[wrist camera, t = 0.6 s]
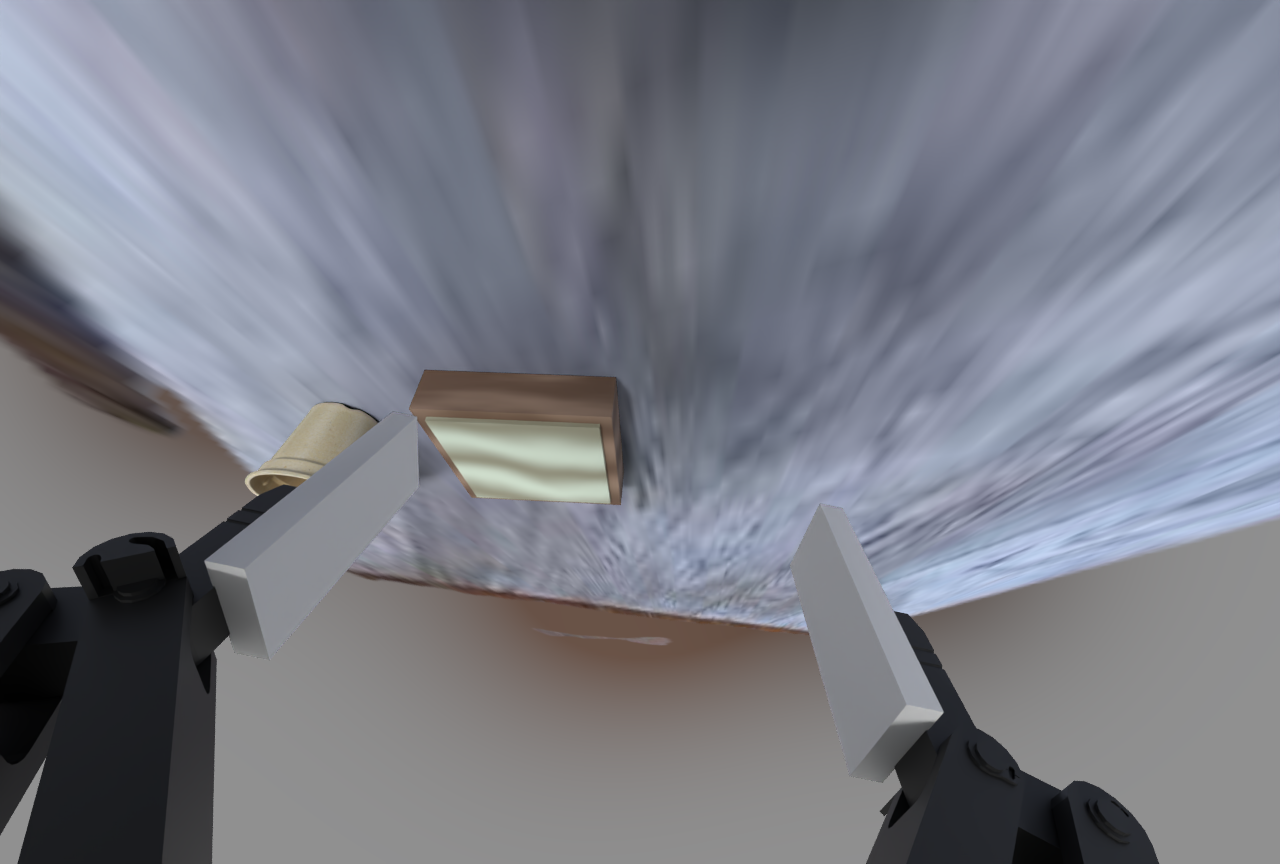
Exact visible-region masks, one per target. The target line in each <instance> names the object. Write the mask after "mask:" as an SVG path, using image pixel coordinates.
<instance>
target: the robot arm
mask: <svg viewBox="0 0 1280 864" xmlns="http://www.w3.org/2000/svg"><path fill="white" fill-rule="evenodd" d="M418 488H419V464H418V429H417V416H412V415H407V414H403V413H398V412H394V411H393V412H392V413H390V414H389V415H388V416H387V417H385V418H384V419H383V420H382V421H380V422H379V423H378V424H377V425H375V426H374V427H373V428H371V429H370V430H369V431H368V432H366V433H365V434H364V435H363V436H361V437H360V438H359V439H358V440H356V441H355V442H354V443H352V444H351V445H350V446H349V447H347V448H346V449H345V450H344V451H342V452H341V453H340V454H339V455H337V456H336V457H335V458H334V459H332V460H331V461H330V462H328V463H327V464H326V465H325V466H323V467H322V468H321V469H320V470H318V471H317V472H316V473H315V474H313V475H312V476H311V477H309V478H308V479H307V480H306V481H304V482H303V483H302V484H301V485H299V486H298V487H295V486H290V485H285V484H283V485H281V486H279V487H276V488H274V489H271V490H269V491H267V492H264V493H262V494H260V495H258V496H257V497H256V498H254V499H253V500H252V501H250V502H249V503H248V504H246V505H245V506H244V507H242V510H241V511H240V510H238V511H237V512H236V513H234V514H233V515H231V516H230V517H229V518H227V521H226V522H222V523H221V524H219V525H218V526H217V527H215V528H214V529H212V530H211V531H210V532H209V533H207V534H206V535H205V536H203V537H202V538H200V539H199V540H198V541H196V542H195V543H194V544H192V545H191V546H189V547H188V548H187V549H185V550H184V551H183V552H182V553H180V554H179V553H178V551H177V548H176V545H175V542H174V539H173V538H171V537H169V536H167V535H165V534H163V533H154V532H144V533H134V534H128V535H125V536H121V537H118V538H114V539H111V540H108V541H106V542H104V543H102V544H100V545H97V546H95V547H93V548H92V549H90V550H89V551H88V552H86V553H85V554H83V555H82V556H81V557H79V559H78V560H77V562H76V563H75V565H74V566H73V567H72V568H73V570H74V572H75V574H76V576H77V578H78V579H79V581H80V583H81V585H82V587H64V588H50V586H49V584H48V583H47V581H46V579H45V577H44V576H43V574H42V573H40V572H37V571H34V570H31V569H12V570H6V571H0V835H1V833H2V831H3V829H4V828H5V826H6V824H7V823H8V821H9V819H10V818H11V816H12V814H13V813H14V811H15V809H16V807H17V806H18V804H19V802H20V801H21V799H22V797H23V795H24V794H25V792H26V790H27V789H28V787H29V785H30V784H31V782H32V780H33V778H34V777H35V775H36V773H37V772H38V770H39V768H40V766H41V765H42V763H43V761H44V760H45V758H46V761H45V764H44V768H43V772H42V775H41V779H40V783H39V786H38V791H37V794H36V798H35V801H34V805H33V808H32V812H31V816H30V820H29V823H28V827H27V831H26V834H25V838H24V842H23V846H22V849H21V853H20V857H19V860H18V864H212V836H213V835H212V833H213V793H214V748H215V706H216V665H217V659H216V657H215V653H214V650H215V649H216V648H217V647H218V646H219V645H220V644H221V643H222V642H223V640H225V639H226V638H227V637H228V636H229V638H230V641H231V644H232V647H233V650H234V653H237V654H243V655H247V656H252V657H257V658H263V659H268V660H270V659H271V658H272V657H273V655H274V654H275V653H276V652H277V651H278V650H279V648H280V647H281V646H282V645H283V644H284V643H285V641H286V640H287V639H288V638H289V637H290V635H292V633H293V632H294V631H295V630H296V629H297V627H298V626H299V625H300V624H301V623H302V622H303V621H304V620H305V618H306V617H307V616H308V615H309V614H310V613H311V611H312V610H313V609H314V608H315V607H316V606H317V604H318V603H319V602H320V601H321V600H322V598H324V596H325V595H326V594H327V593H328V592H329V591H330V589H331V588H332V587H333V586H334V585H335V584H336V582H337V581H338V580H339V579H340V578H341V577H342V576H343V574H344V573H345V572H346V571H347V570H348V569H349V567H350V566H351V565H352V564H353V563H354V562H355V561H356V559H357V558H358V557H359V556H360V555H361V554H362V552H363V551H364V550H365V549H366V548H367V547H368V545H369V544H370V543H371V542H372V541H373V540H374V539H375V537H376V536H377V535H378V534H379V533H380V532H381V530H382V529H383V528H384V527H385V526H386V525H387V523H388V522H389V521H390V520H391V519H392V518H393V517H394V515H395V514H396V513H397V512H398V511H399V510H400V508H401V507H402V506H403V505H404V504H405V503H406V502H407V500H408V499H409V498H410V497H411V496H412V495H413V493H414V492H415V491H416V490H417V489H418ZM790 567H791V571H792V574H793V578H794V581H795V585H796V589H797V592H798V596H799V599H800V603H801V606H802V610H803V613H804V617H805V620H806V624H807V627H808V631H809V634H810V638H811V641H812V645H813V648H814V652H815V656H816V659H817V662H818V666H819V670H820V673H821V677H822V680H823V684H824V687H825V690H826V694H827V698H828V701H829V705H830V708H831V712H832V716H833V719H834V722H835V726H836V730H837V733H838V737H839V740H840V744H841V747H842V751H843V754H844V758H845V761H846V765H847V768H848V772H849V776H851V777H856V778H861V779H867V780H871V781H876V782H883V781H884V780H885V779H886V778H887V777H888V776H889V775H890V773H891V772H892V771H893V770H894V769H895V770H896V773H897V775H898V778H899V781H900V783H901V786H902V788H901V789H900V790H899V791H898V792H897V793H896V794H895V795H894V796H893V798H892V799H891V800H890V801H889V802H888V803H887V804H886V805H885V806H884V807H883V808H882V810H881V811H880V812H881V813H882V814H883V815H884V816H885V815H886V814H887V815H886V818H885V820H884V822H883V825H882V827H881V829H880V832H879V834H878V837H877V839H876V841H875V844H874V846H873V848H872V851H871V853H870V855H869V858H868V860H867V863H866V864H1159V862H1158V859H1157V857H1156V854H1155V851H1154V848H1153V845H1152V844H1151V842H1150V840H1149V838H1148V836H1147V834H1146V832H1145V830H1144V829H1143V828H1142V826H1141V825H1140V824H1139V823H1138V821H1137V820H1136V819H1135V817H1134V816H1133V815H1132V814H1131V813H1130V812H1129V811H1128V810H1127V809H1126V808H1125V807H1124V806H1123V805H1122V804H1121V803H1119V802H1118V801H1117V800H1116V799H1115V798H1114V797H1112V796H1111V795H1109V794H1108V793H1106V792H1105V791H1104V790H1102V789H1100V788H1099V787H1097V786H1094V785H1092V784H1090V783H1087V782H1084V781H1073V782H1072V783H1071V784H1070V785H1069V786H1067V787H1066V788H1065V789H1064V790H1062V791H1061V790H1059V789H1057V788H1055V787H1053V786H1051V785H1049V784H1047V783H1045V782H1043V781H1041V780H1039V779H1037V778H1035V777H1033V776H1031V775H1029V774H1027V773H1025V772H1023V771H1021V770H1020V769H1019V767H1018V764H1017V763H1016V761H1015V760H1014V759H1013V758H1012V756H1011V755H1010V754H1009V752H1008V751H1007V750H1006V749H1005V748H1004V747H1003V746H1002V745H1001V744H1000V743H998V742H997V741H996V740H995V739H994V738H993V737H991V736H989V735H987V734H986V733H984V732H983V731H981V730H979V729H976V727H975V726H974V724H973V722H972V720H971V718H970V716H969V714H968V712H967V711H966V709H965V707H964V705H963V703H962V701H961V699H960V698H959V696H958V694H957V692H956V690H955V688H954V687H953V685H952V683H951V681H950V679H949V678H948V676H947V674H946V672H945V670H943V669H942V664H941V662H940V661H939V659H938V657H937V655H936V654H934V649H933V648H932V646H931V644H930V642H929V640H928V638H927V637H926V635H925V633H924V631H923V630H922V629H921V628H920V627H919V626H918V625H917V624H916V623H915V621H914V620H913V619H912V618H911V617H910V616H909V615H908V614H905V613H900V612H895V611H893V609H892V607H891V605H890V603H889V601H888V599H887V597H886V594H885V592H884V590H883V588H882V586H881V584H880V582H879V580H878V578H877V576H876V574H875V572H874V570H873V568H872V566H871V564H870V562H869V560H868V558H867V556H866V554H865V552H864V550H863V548H862V546H861V544H860V542H859V540H858V538H857V536H856V534H855V532H854V530H853V528H852V526H851V524H850V522H849V520H848V518H847V516H846V514H845V512H844V510H843V508H839V507H834V506H830V505H825V504H821V503H820V504H819V506H818V508H817V510H816V512H815V514H814V516H813V519H812V521H811V523H810V525H809V527H808V529H807V531H806V533H805V535H804V537H803V539H802V541H801V543H800V545H799V548H798V550H797V552H796V554H795V556H794V558H793V560H792V562H791V564H790ZM46 756H47V757H46Z"/></svg>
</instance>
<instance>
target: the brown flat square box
mask: <svg viewBox="0 0 1280 864" xmlns="http://www.w3.org/2000/svg"><path fill="white" fill-rule="evenodd" d="M409 410H410V411H411V412H412V414H413V415H414V416H417V421H418V422H419V424H420V425H421V427H422V428H423V429H424V431H425V432H426V434H427V435H428V436H429V438H430V439H431V441H432V442H433V443H434V445H435V446H436V448H437V449H438V451H439V452H440V453H441V455H442V456H443V458H444V459H445V460H446V462H447V463H448V465H449V466H450V468H451V469H452V470H453V472H454V473H455V475H456V476H457V477H458V479H459V480H460V482H461V483H462V484H463V486H464V487H465V489H466V490H467V492H468V493H469V494H470V496H471V497H472V498H491V499H511V500H531V501H552V502H572V503H592V504H613V505H621V497H622V486H623V474H624V469H623V456H622V444H621V432H620V419H619V407H618V395H617V382H616V377H594V376H568V375H542V374H515V373H489V372H463V371H437V370H425V371H424V373H423V375H422V378H421V380H420V383H419V385H418V388H417V390H416V393H415V395H414V397H413V400H412V402H411V405H410V407H409Z"/></svg>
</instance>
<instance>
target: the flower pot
mask: <svg viewBox="0 0 1280 864" xmlns="http://www.w3.org/2000/svg"><path fill="white" fill-rule="evenodd" d="M377 424H378V423H377V422H376V421H375V420H374V419H373V418H372V417H371V416H369V415H368V414H366V413H365V412H363V411H361V410H352V409H349V408H347V407H345V406H344V405H343V404H340V403H331V402H327V403H320V404H317V405H315V406H314V407H312V409H311V410H310V412H309V413H308V414H307V415H306V417H305V418H304V419H303V420H302V422H301V423H300V424H299V425H298V427H297V428H296V429H295V430H294V432H293V433H292V434H291V435H290V437H289V438H288V439H287V440H286V441H285V443H284V444H283V445H282V446H281V448H280V449H279V450H278V451H277V453H276V454H275V455H274V456H273V457H272V459H271V460H269V461H267V462H265V463H264V464H263V465H262V466H261V467H260V468H259V470H258V471H255V472H252V473H250V474H249V475H248V476H247V478H246V479H245V484H246V485H247V487H248V488H249V490H250V491H251V492H253V493H254V494H256V495H257V496H258V495H260V494H262V493H264V492H267V491H269V490H271V489H274V488H276V487H279V486H281V485H283V484H285V485H290V486H295V487H298V486H299V485H301V484H302V483H303V482H304V481H306V480H307V479H308V478H309V477H311V476H312V475H313V474H315V473H316V472H317V471H318V470H320V469H321V468H322V467H323V466H325V465H326V464H327V463H328V462H330V461H331V460H332V459H334V458H335V457H336V456H337V455H339V454H340V453H341V452H342V451H344V450H345V449H346V448H347V447H349V446H350V445H351V444H352V443H354V442H355V441H356V440H358V439H359V438H360V437H361V436H363V435H364V434H365V433H366V432H368V431H369V430H370V429H371V428H373V427H374V426H375V425H377Z"/></svg>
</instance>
